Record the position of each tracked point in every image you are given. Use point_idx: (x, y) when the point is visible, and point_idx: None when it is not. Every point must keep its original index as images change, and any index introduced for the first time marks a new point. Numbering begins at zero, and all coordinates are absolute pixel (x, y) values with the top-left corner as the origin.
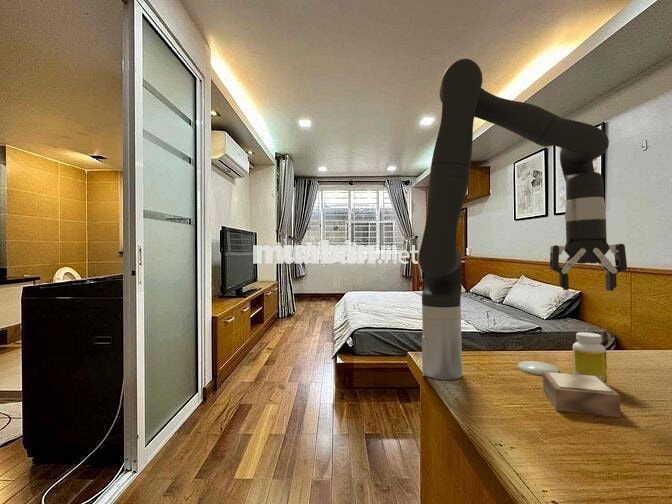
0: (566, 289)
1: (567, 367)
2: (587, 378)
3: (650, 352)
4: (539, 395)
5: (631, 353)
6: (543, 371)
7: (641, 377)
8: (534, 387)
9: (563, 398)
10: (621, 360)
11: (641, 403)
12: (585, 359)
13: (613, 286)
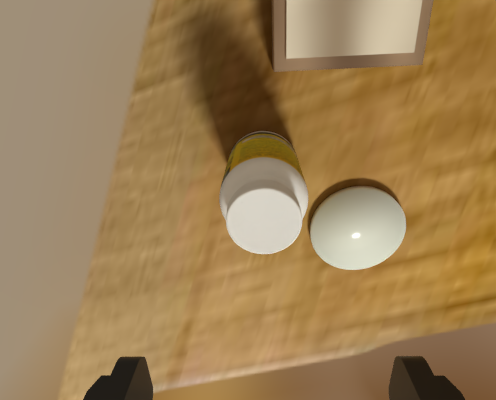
0: (413, 356)
1: (279, 262)
2: (316, 22)
3: None
4: None
5: None
6: (357, 196)
7: (141, 235)
8: (413, 83)
9: None
10: (151, 335)
11: (190, 47)
12: (283, 154)
13: (109, 377)
